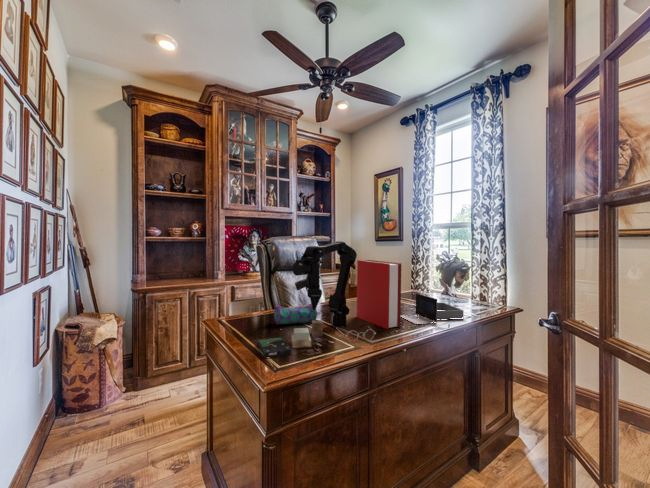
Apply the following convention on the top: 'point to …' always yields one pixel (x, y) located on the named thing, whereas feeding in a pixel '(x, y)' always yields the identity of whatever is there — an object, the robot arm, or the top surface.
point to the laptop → (424, 310)
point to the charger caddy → (448, 311)
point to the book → (379, 292)
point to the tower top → (301, 334)
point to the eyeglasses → (357, 333)
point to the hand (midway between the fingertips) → (313, 307)
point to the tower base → (301, 342)
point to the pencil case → (294, 315)
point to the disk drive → (274, 347)
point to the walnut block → (317, 328)
